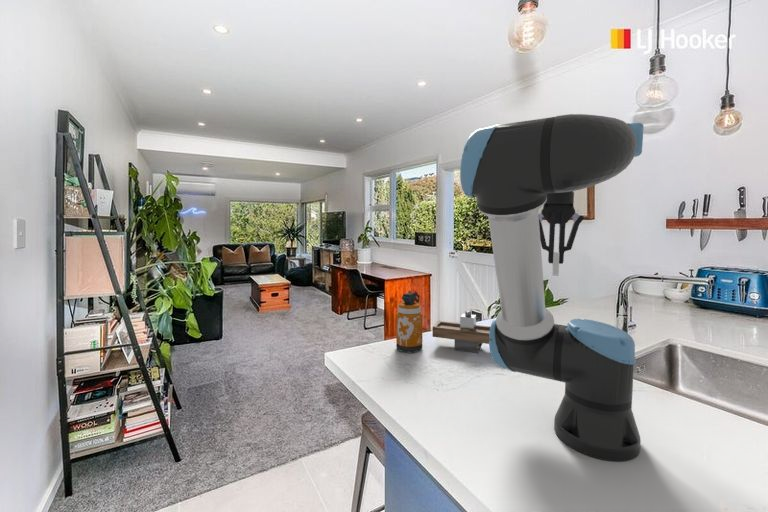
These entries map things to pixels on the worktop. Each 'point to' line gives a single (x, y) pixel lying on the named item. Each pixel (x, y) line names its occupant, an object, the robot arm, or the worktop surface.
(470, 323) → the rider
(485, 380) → the worktop surface
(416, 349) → the canister
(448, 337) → the beam
